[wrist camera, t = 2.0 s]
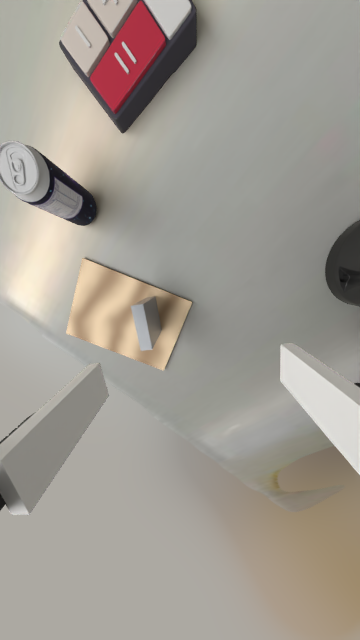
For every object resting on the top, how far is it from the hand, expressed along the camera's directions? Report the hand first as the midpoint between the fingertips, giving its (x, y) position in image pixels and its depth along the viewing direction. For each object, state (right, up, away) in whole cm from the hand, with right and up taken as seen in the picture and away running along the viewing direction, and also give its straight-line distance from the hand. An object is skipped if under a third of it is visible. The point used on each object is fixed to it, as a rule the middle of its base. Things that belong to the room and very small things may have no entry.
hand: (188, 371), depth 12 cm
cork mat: (-11, +4, +23) cm, 26 cm away
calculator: (-7, +42, +13) cm, 44 cm away
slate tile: (-6, +5, +22) cm, 23 cm away
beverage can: (-18, +23, +18) cm, 34 cm away
